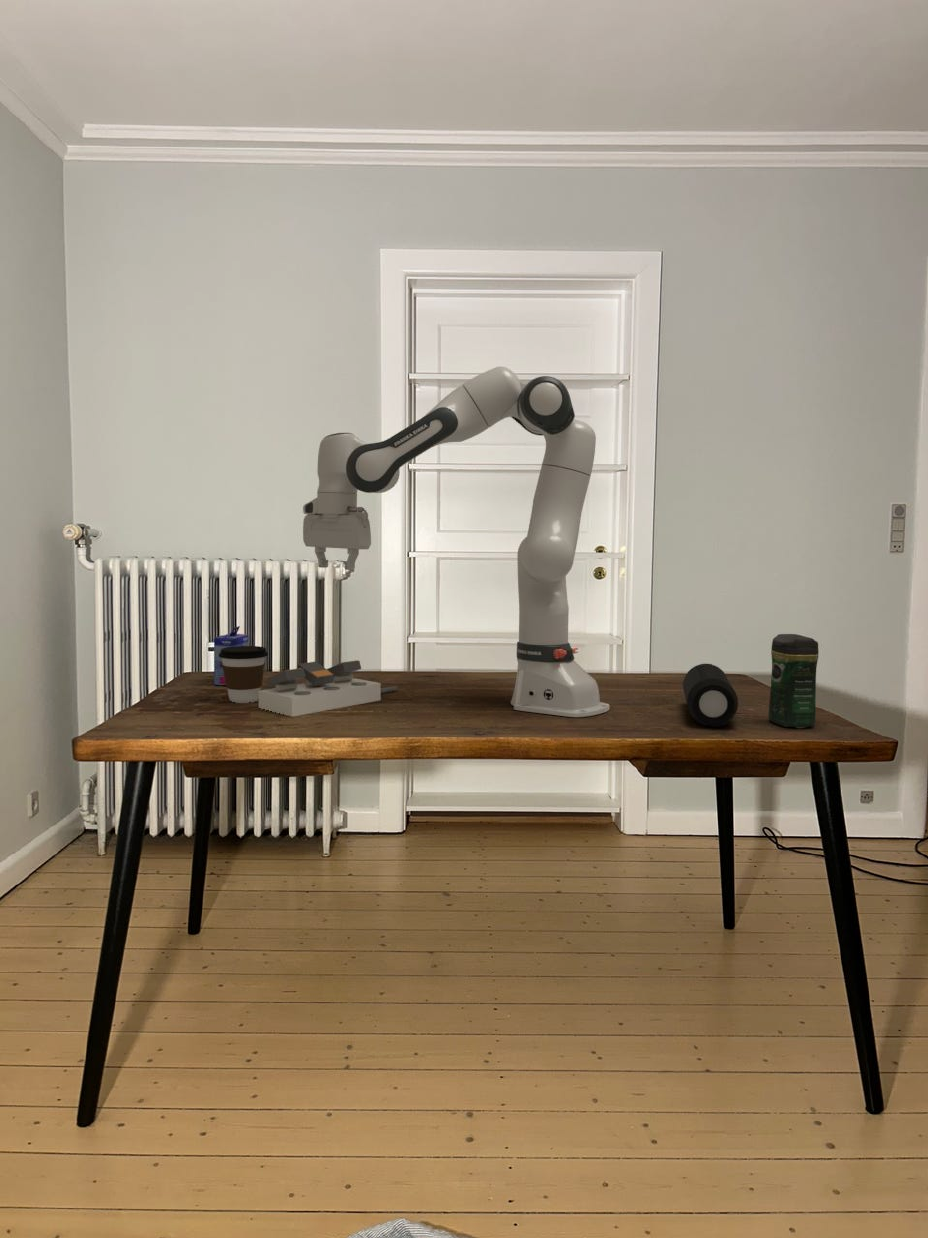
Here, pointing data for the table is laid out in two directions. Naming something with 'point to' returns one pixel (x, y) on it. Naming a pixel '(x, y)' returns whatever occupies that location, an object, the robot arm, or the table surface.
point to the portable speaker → (709, 695)
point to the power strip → (320, 695)
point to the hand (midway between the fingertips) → (336, 568)
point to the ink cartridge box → (224, 642)
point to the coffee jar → (793, 680)
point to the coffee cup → (243, 672)
